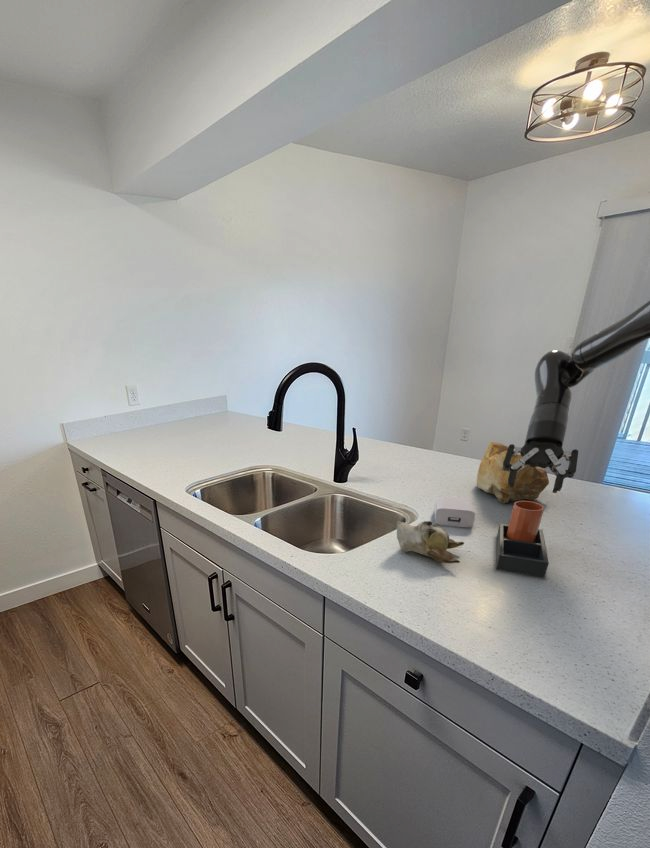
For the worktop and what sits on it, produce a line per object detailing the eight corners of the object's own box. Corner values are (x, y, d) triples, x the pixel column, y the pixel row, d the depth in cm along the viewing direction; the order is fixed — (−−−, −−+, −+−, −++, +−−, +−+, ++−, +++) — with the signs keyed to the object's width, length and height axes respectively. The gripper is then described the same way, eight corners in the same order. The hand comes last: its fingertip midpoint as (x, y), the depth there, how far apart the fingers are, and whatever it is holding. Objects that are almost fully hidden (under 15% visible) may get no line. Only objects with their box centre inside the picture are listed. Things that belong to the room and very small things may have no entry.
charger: (468, 506, 125) (472, 528, 113) (434, 503, 128) (434, 524, 116) (472, 490, 123) (475, 511, 111) (436, 488, 126) (436, 507, 114)
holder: (538, 542, 104) (542, 529, 103) (544, 577, 91) (548, 563, 89) (496, 536, 108) (499, 523, 106) (496, 569, 95) (499, 555, 93)
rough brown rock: (556, 515, 119) (576, 462, 112) (490, 508, 121) (507, 456, 115) (525, 487, 139) (540, 441, 133) (470, 482, 142) (482, 437, 135)
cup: (532, 541, 103) (543, 502, 99) (533, 552, 99) (545, 512, 94) (504, 537, 106) (513, 499, 101) (504, 547, 101) (514, 508, 97)
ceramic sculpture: (403, 506, 105) (470, 520, 99) (397, 537, 110) (461, 552, 103) (393, 524, 97) (466, 540, 91) (387, 557, 102) (456, 574, 95)
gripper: (514, 417, 104) (499, 477, 100) (587, 420, 96) (574, 486, 93) (511, 434, 110) (496, 491, 107) (580, 438, 103) (567, 500, 100)
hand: (533, 488), depth 100 cm, fingers open, 8 cm apart
